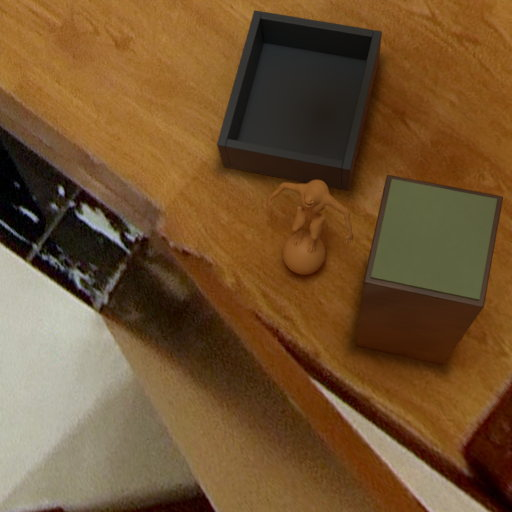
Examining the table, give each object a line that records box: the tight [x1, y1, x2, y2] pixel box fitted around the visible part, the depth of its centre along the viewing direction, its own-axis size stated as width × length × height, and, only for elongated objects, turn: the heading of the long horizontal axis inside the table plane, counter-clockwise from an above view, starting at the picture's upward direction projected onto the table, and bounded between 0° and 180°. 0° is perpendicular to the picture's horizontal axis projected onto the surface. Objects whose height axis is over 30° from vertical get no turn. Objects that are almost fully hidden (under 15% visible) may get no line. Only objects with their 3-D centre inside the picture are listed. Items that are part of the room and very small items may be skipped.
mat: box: [371, 179, 497, 300], centre depth 58 cm, size 7×7×1 cm
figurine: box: [266, 180, 354, 276], centre depth 76 cm, size 8×6×12 cm
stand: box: [355, 174, 504, 366], centre depth 68 cm, size 8×8×22 cm
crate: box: [216, 9, 383, 192], centre depth 83 cm, size 13×15×5 cm
